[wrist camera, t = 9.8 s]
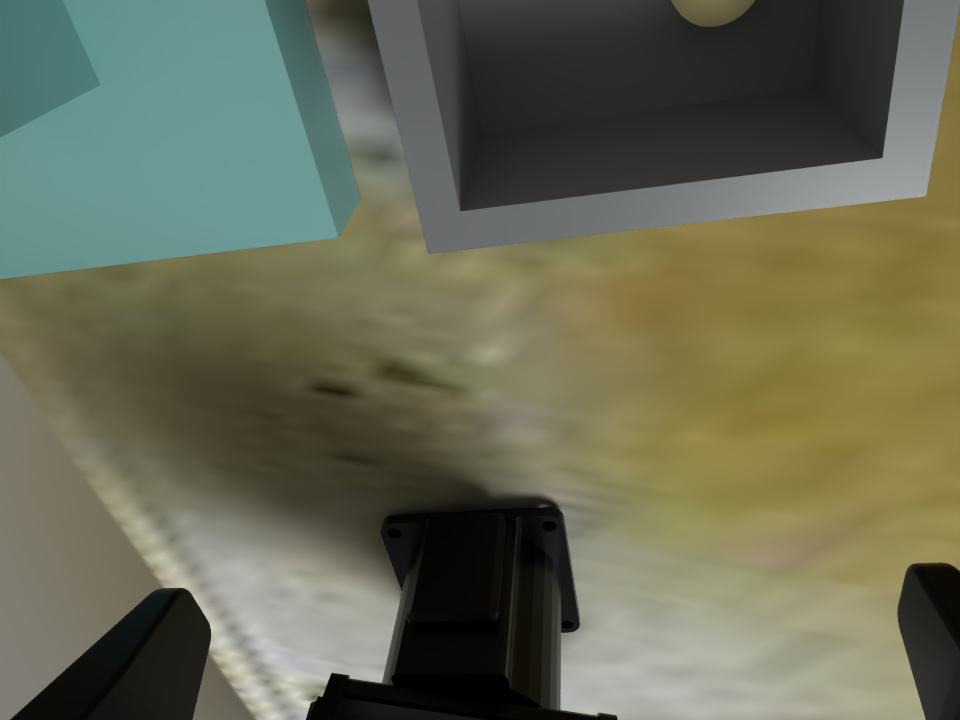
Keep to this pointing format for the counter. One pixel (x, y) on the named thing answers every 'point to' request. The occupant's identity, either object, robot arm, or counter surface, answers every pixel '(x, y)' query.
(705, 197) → the tub
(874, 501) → the counter surface
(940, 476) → the counter surface
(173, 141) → the lid
